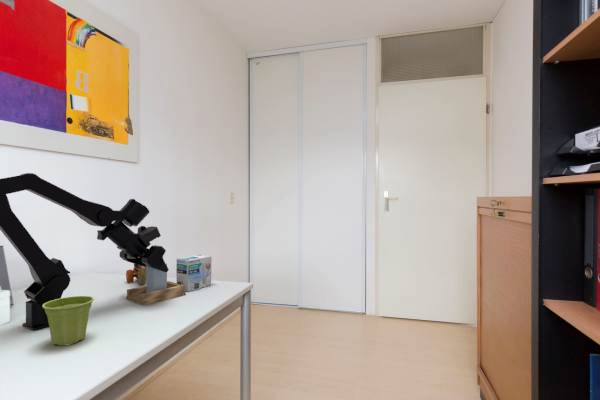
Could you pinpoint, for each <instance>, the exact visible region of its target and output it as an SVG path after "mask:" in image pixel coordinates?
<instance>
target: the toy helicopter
mask: <svg viewBox="0 0 600 400" xmlns="http://www.w3.org/2000/svg"><path fill="white" fill-rule="evenodd" d="M125 277H126V278H125V280H126V282H127V283H128V284H130V283H133V282H134V278H135V279H136V280H137V281H138V283H139V285H145V284H146V267H144V266H141V265H137V264H134V263H133V268H132V269H127V270H126V272H125Z"/></svg>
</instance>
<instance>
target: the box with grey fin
mask: <svg viewBox="0 0 600 400" xmlns="http://www.w3.org/2000/svg"><path fill="white" fill-rule="evenodd" d="M165 264H166V265H167V266H168V264H167V263H165ZM167 281H168V272H163V271H160V270H157V269H154V268H151V267H148V266H147V265H146V283H145V284H146V285H145V286H146V293H148V292H153V291H157V290H162V289H166V288H167Z"/></svg>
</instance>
